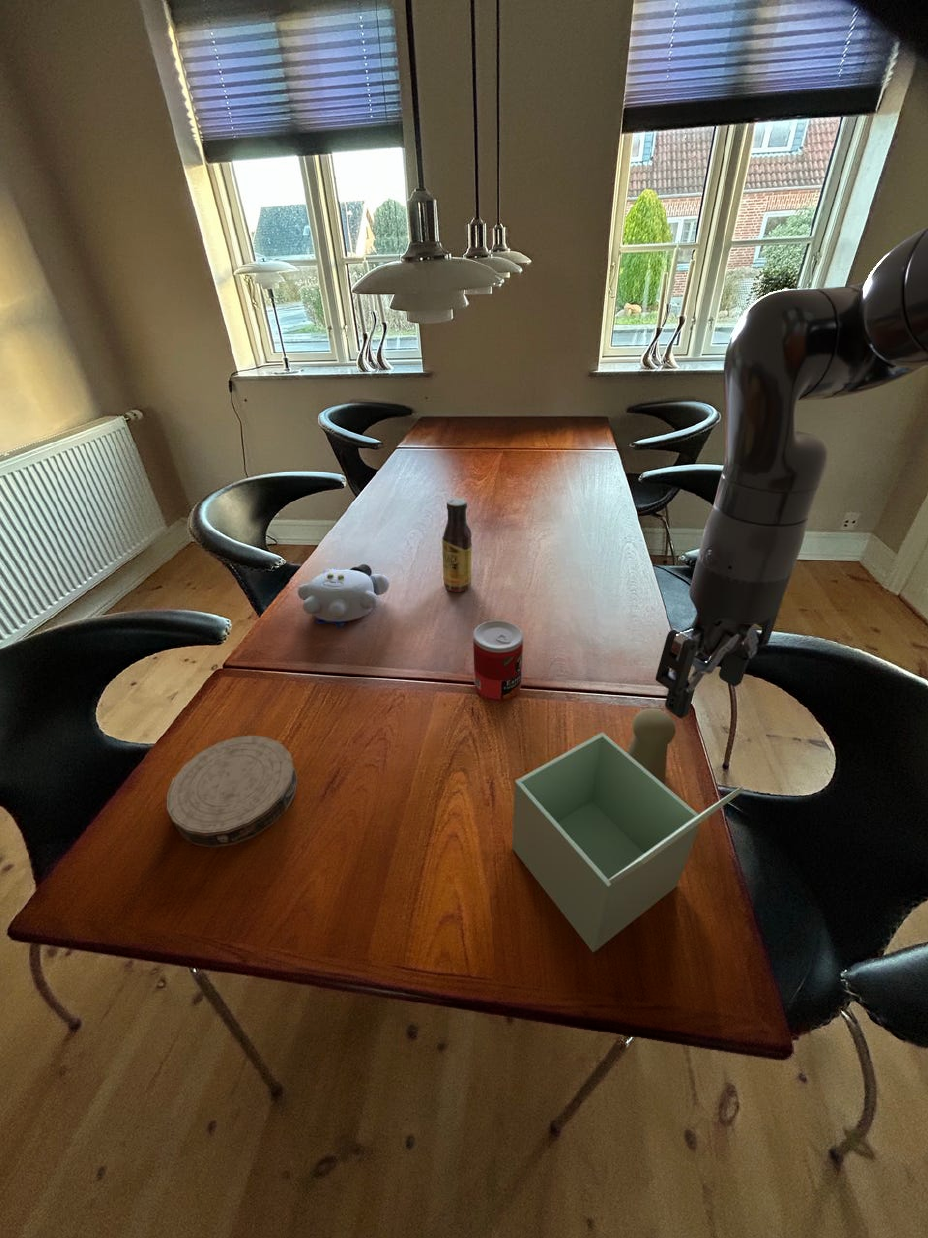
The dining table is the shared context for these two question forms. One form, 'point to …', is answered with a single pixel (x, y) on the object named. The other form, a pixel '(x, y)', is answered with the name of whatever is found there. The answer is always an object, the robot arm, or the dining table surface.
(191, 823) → the grey flat disc
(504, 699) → the canned food
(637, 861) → the flap
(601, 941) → the carton
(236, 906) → the dining table surface
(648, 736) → the olive brown pawn
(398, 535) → the dining table surface
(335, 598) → the figurine
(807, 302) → the robot arm
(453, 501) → the sauce bottle
